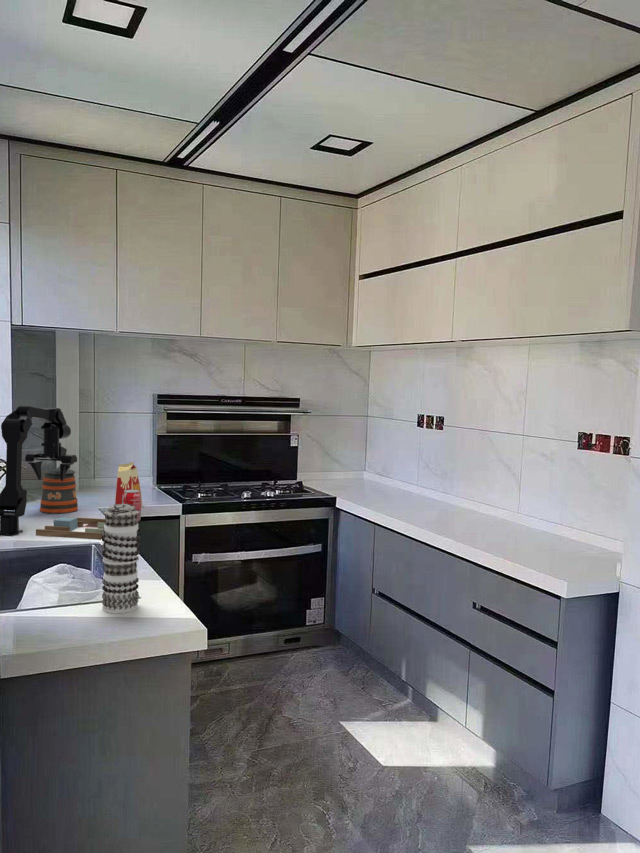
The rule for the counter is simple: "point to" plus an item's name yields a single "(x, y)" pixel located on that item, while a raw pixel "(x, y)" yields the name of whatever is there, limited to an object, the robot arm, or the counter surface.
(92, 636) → the counter surface
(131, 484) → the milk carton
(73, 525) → the slate block
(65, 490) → the beer stein
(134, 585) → the decorative candle
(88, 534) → the brown bars
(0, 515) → the robot arm
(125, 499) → the soda can
